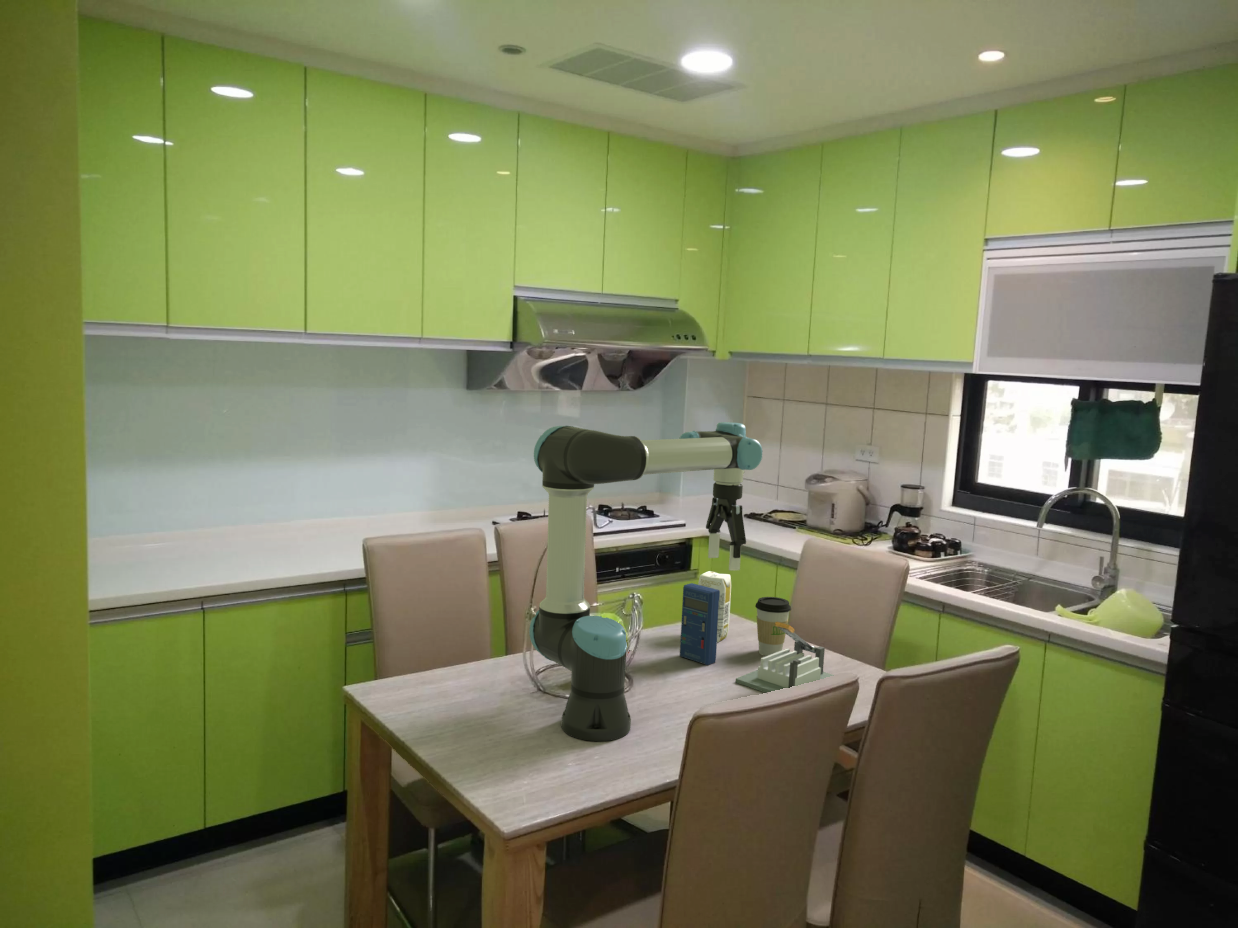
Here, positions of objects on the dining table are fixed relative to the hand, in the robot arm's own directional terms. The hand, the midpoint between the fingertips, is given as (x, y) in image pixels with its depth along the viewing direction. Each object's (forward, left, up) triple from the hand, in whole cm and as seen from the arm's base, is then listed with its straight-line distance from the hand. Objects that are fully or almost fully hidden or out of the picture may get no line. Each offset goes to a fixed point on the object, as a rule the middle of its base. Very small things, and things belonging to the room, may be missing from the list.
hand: (723, 563), depth 233 cm
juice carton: (+20, +17, -28) cm, 38 cm away
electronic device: (+2, +8, -28) cm, 30 cm away
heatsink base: (+7, -18, -28) cm, 34 cm away
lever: (+8, -18, -18) cm, 27 cm away
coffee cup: (+22, -2, -28) cm, 36 cm away
